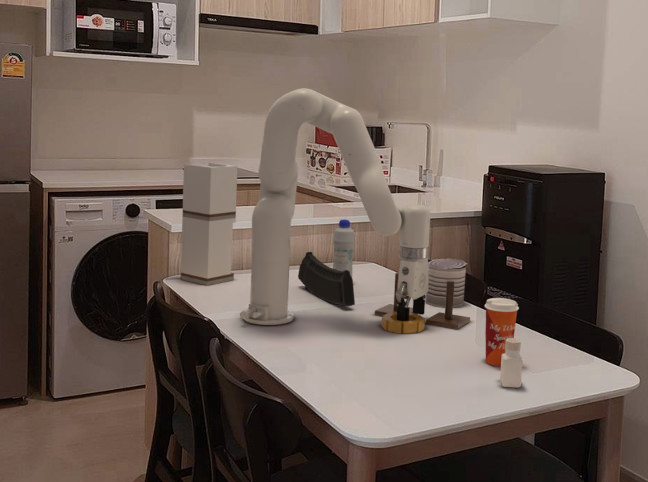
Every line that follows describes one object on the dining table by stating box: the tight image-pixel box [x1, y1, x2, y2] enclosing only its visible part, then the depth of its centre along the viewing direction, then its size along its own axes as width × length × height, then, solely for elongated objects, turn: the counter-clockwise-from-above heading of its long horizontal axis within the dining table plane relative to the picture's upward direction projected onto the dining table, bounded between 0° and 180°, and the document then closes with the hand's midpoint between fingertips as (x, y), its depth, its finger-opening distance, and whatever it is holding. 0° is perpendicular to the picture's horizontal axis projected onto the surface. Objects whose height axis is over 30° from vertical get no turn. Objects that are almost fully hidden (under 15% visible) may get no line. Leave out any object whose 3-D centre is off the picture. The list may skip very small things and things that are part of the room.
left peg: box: [374, 272, 415, 317], centre depth 222 cm, size 9×9×11 cm
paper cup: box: [484, 297, 520, 367], centre depth 186 cm, size 8×8×14 cm
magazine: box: [297, 251, 356, 307], centre depth 235 cm, size 17×3×30 cm
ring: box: [381, 312, 426, 334], centre depth 210 cm, size 10×10×3 cm
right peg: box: [425, 280, 471, 330], centre depth 216 cm, size 9×9×11 cm
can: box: [425, 257, 468, 308], centre depth 238 cm, size 11×11×12 cm
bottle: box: [332, 218, 356, 278], centre depth 255 cm, size 7×7×20 cm
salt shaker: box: [499, 337, 524, 388], centre depth 171 cm, size 4×4×10 cm
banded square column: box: [180, 162, 238, 286], centre depth 249 cm, size 11×11×35 cm
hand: (410, 317), depth 214 cm, fingers open, 9 cm apart
